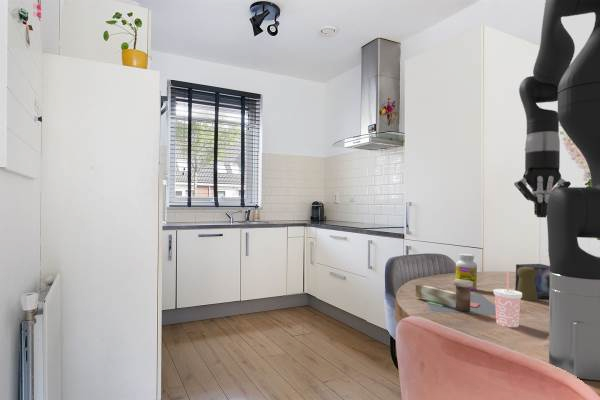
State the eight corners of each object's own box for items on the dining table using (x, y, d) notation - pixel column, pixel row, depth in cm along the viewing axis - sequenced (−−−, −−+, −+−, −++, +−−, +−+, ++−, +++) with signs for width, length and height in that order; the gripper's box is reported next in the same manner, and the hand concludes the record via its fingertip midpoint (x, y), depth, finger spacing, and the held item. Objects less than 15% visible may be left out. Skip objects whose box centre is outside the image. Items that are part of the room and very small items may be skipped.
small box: (531, 300, 116) (531, 267, 116) (514, 295, 122) (514, 264, 122) (556, 298, 118) (557, 266, 118) (538, 293, 125) (539, 263, 125)
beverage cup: (487, 326, 89) (487, 269, 90) (504, 323, 92) (504, 268, 92) (510, 334, 84) (511, 273, 84) (527, 331, 86) (528, 272, 86)
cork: (541, 306, 109) (542, 269, 109) (519, 304, 110) (520, 268, 110) (533, 300, 115) (533, 266, 115) (512, 299, 116) (512, 265, 116)
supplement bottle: (456, 292, 124) (457, 255, 124) (454, 288, 130) (454, 252, 130) (478, 294, 122) (478, 256, 122) (474, 290, 128) (475, 253, 128)
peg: (476, 310, 98) (476, 281, 98) (465, 312, 95) (466, 283, 95) (422, 295, 112) (422, 271, 112) (412, 297, 109) (412, 272, 109)
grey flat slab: (507, 320, 94) (507, 314, 94) (431, 314, 98) (431, 309, 98) (480, 297, 118) (480, 292, 118) (419, 293, 121) (419, 289, 121)
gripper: (520, 149, 93) (519, 217, 92) (578, 148, 90) (578, 218, 90) (509, 153, 100) (508, 216, 100) (562, 153, 97) (562, 217, 97)
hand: (541, 217), depth 95 cm, fingers closed
